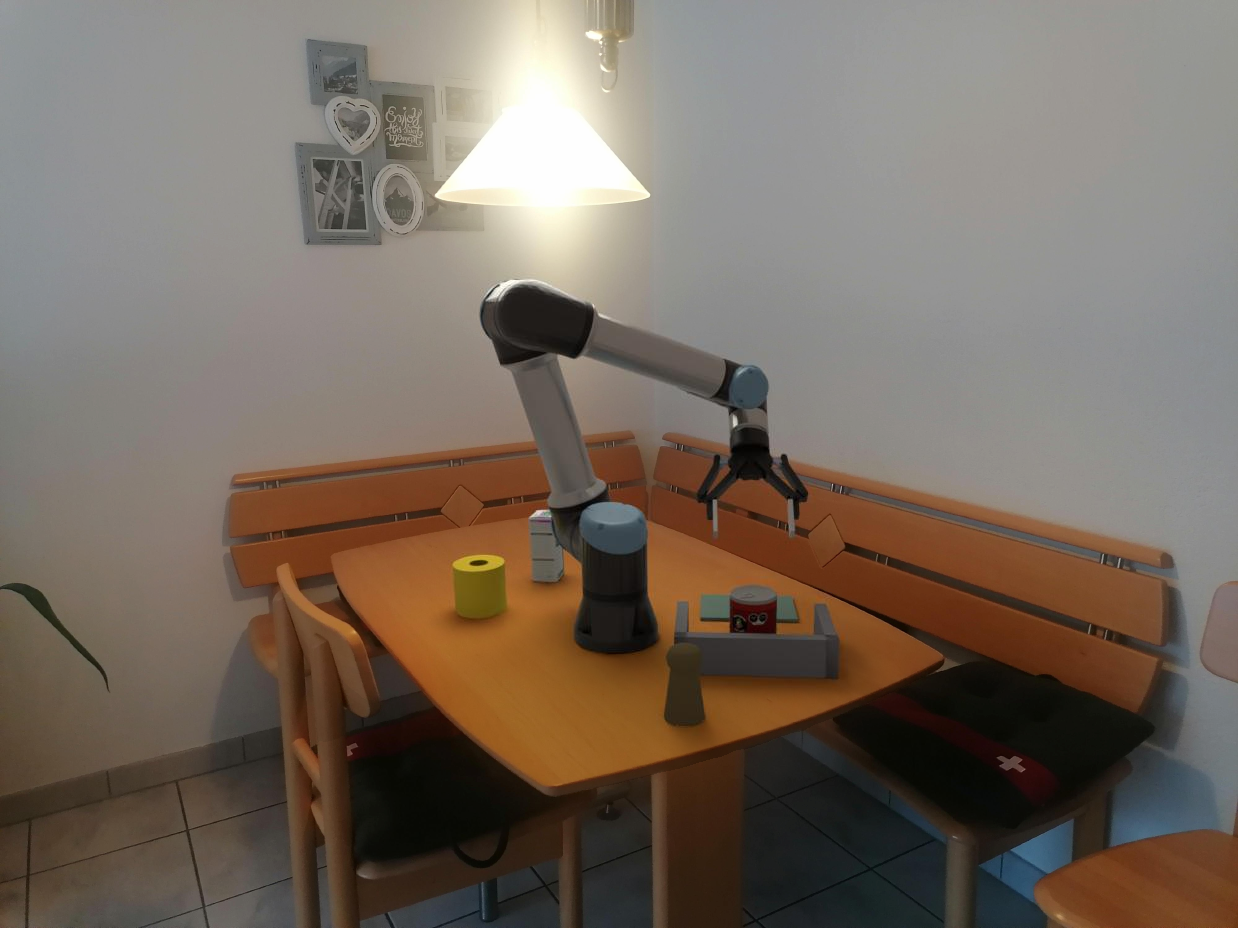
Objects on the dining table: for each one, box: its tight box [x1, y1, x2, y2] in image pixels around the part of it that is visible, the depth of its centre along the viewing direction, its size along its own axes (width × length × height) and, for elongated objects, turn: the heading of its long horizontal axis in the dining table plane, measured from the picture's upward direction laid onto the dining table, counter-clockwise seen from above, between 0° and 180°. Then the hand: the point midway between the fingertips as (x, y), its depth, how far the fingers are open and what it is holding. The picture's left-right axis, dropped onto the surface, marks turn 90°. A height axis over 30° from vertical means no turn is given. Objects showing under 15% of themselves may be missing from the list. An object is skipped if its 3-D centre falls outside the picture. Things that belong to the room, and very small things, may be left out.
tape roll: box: [452, 554, 508, 619], centre depth 167 cm, size 10×10×9 cm
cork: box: [663, 643, 706, 727], centre depth 123 cm, size 6×6×11 cm
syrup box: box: [528, 509, 565, 583], centre depth 183 cm, size 6×6×14 cm
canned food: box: [729, 584, 778, 634], centre depth 144 cm, size 8×8×11 cm
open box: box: [673, 600, 840, 679], centre depth 143 cm, size 26×16×6 cm, turn 84°
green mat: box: [699, 593, 799, 623], centre depth 164 cm, size 18×12×1 cm, turn 84°
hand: (753, 534), depth 152 cm, fingers open, 13 cm apart
